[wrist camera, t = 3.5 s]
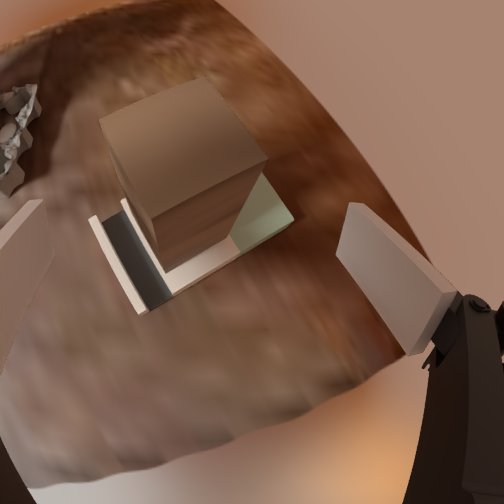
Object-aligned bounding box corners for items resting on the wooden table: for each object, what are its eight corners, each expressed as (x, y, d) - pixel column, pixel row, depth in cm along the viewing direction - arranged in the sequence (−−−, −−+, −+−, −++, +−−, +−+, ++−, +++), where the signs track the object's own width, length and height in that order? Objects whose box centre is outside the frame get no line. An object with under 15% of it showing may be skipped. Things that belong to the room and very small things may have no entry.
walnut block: (131, 214, 19) (98, 119, 10) (191, 182, 20) (205, 75, 11) (165, 274, 19) (151, 219, 9) (226, 237, 20) (268, 158, 11)
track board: (95, 228, 20) (88, 219, 18) (235, 155, 24) (239, 141, 22) (142, 315, 20) (138, 314, 18) (285, 228, 23) (294, 219, 21)
